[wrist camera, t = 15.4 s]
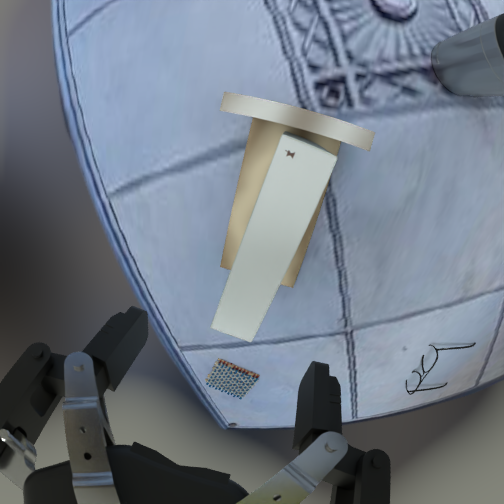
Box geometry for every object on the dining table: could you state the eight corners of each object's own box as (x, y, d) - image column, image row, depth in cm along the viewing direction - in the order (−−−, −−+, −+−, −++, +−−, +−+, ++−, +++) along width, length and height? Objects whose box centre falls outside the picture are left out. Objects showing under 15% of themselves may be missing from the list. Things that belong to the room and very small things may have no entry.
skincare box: (268, 273, 44) (250, 345, 30) (235, 261, 44) (204, 327, 30) (323, 144, 34) (340, 157, 20) (285, 129, 34) (274, 130, 20)
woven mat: (262, 373, 58) (261, 379, 56) (244, 394, 63) (242, 401, 61) (219, 354, 57) (216, 361, 56) (205, 378, 62) (202, 384, 60)
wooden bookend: (342, 129, 34) (375, 132, 18) (293, 281, 46) (285, 362, 30) (258, 106, 35) (224, 91, 19) (223, 261, 46) (184, 332, 30)
